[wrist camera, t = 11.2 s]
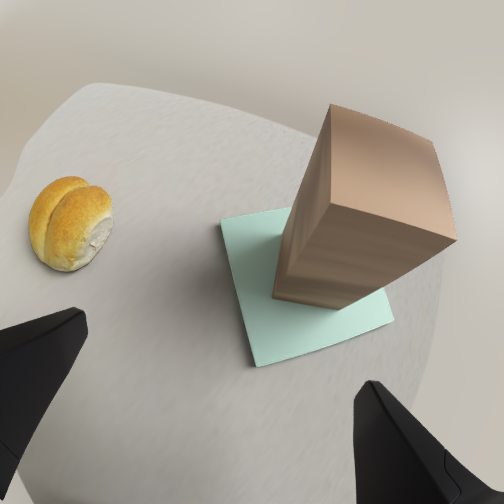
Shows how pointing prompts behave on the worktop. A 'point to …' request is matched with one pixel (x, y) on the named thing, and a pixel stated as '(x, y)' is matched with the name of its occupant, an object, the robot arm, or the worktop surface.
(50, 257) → the bread roll
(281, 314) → the green board
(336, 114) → the walnut block
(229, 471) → the worktop surface
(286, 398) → the worktop surface
